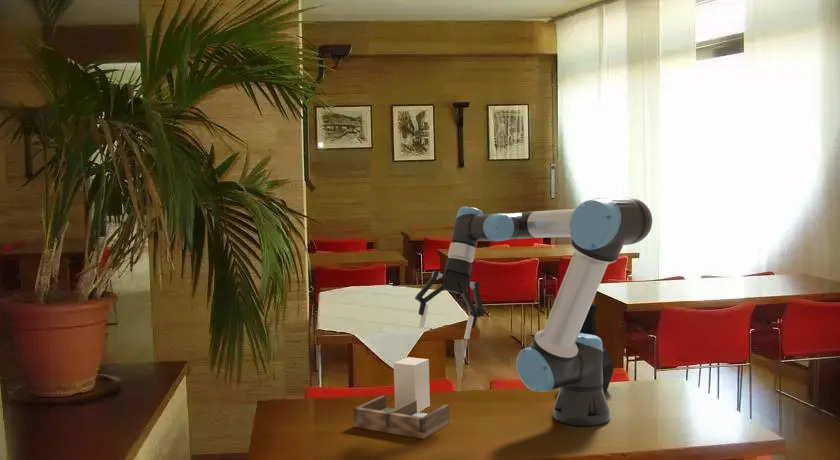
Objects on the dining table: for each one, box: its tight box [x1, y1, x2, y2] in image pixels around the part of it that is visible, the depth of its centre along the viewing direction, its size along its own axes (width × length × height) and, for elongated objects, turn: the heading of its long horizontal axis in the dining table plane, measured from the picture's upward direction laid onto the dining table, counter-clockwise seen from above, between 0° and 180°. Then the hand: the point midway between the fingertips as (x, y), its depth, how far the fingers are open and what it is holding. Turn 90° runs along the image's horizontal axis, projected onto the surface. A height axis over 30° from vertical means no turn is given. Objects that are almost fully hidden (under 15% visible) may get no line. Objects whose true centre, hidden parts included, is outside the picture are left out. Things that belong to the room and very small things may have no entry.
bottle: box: [580, 296, 615, 393], centre depth 231 cm, size 16×16×30 cm
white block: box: [393, 356, 431, 413], centre depth 216 cm, size 7×8×14 cm
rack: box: [353, 395, 451, 440], centre depth 201 cm, size 22×14×5 cm, turn 60°
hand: (443, 333), depth 210 cm, fingers open, 13 cm apart
